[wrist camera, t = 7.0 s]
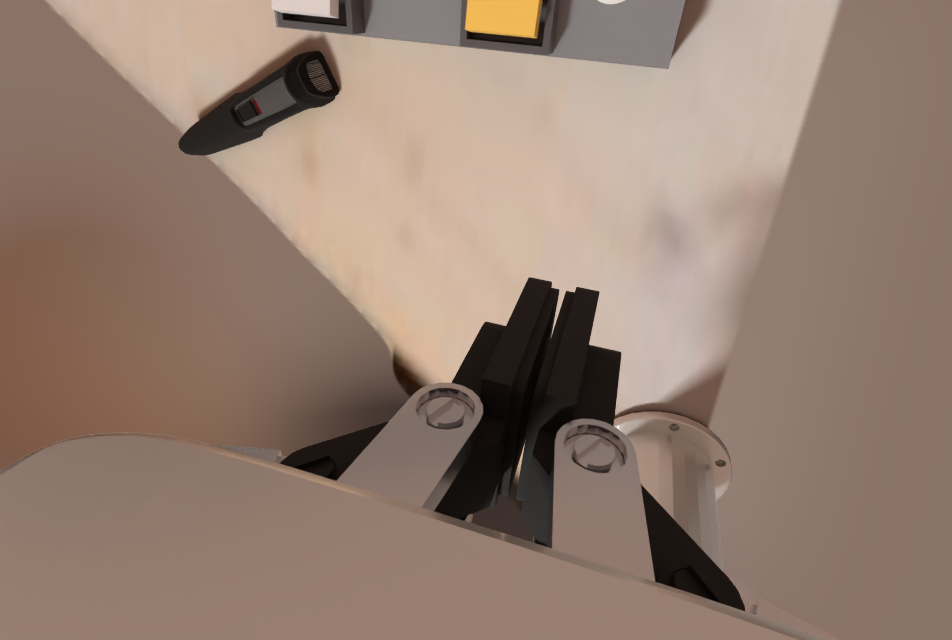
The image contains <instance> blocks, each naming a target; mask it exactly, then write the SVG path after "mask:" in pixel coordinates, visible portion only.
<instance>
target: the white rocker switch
mask: <svg viewBox="0 0 952 640" xmlns="http://www.w3.org/2000/svg"><path fill="white" fill-rule="evenodd" d="M272 9H273V10H275V11H278V12H281V13H290V14H300V15H310V16H320V17H330V18H338V15H339V0H272Z"/></svg>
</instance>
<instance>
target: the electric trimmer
mask: <svg viewBox="0 0 952 640" xmlns="http://www.w3.org/2000/svg"><path fill="white" fill-rule="evenodd" d="M338 93H339V87H338V85H337V83H336V81H335V79H334V77H333V75H332V73H331V71H330V69H329V67H328V64H327V62H326V60H325V58H324V56H323V54H322V53H320V52H318V51H315V52H312V53H311V52H307V53H303V54H300V55H298V56H296V57H294V58H293V59H292V60H291V61H289V62H288V63H287V64H286V65H284V66H283V67H281V68H280V69H278V70H277V71H275V72H274V73H272V74H271V75H269V76H268V77H266V78H265V79H263V80H262V81H260V82H259V83H257V84H256V85H254V86H252V87H251V88H249V89H248V90H246V91H244V92H242V93H236V94H235V95H233V96H232V97H230V98H229V99H227V100H226V101H224V102H223V103H222V104H220V105H219V106H218V107H216V108H215V109H214V110H212V111H211V112H210V113H208V114H207V115H206V116H204V117H203V118H202V119H200V120H199V121H198V122H196V123H195V124H194V125H193V126H192V127H190V128H189V130H188V131H187V132H186V133H185V134H184V135H183V136H182V138H181V139H180V140H179V148H180V149H181V151H183V152H184V153H186V154H190V155H209V154H213V153H216V152H219V151H222V150H225V149H228V148H231V147H234V146H236V145H239V144H242V143H245V142H248V141H251V140H254V139H256V138H259V137H261V136H262V134H263V131H264V130H265V129H267V128H268V127H270V126H272V125H274V124H276V123H278V122H280V121H282V120H284V119H286V118H288V117H290V116H293V115H295V114H297V113H300V112H302V111H304V110H306V109H309V108H316V107H322V106H325V105H326V104H328V103H330V102H331V101H333V100H334V99H335V96H336V95H337V94H338ZM246 125H247V126H246Z"/></svg>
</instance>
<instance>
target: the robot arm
mask: <svg viewBox="0 0 952 640" xmlns="http://www.w3.org/2000/svg"><path fill="white" fill-rule="evenodd" d="M551 287H552V282H550V281H545V280H540V279H535V278H530V277H529V279H528V280H527V283H526V285H525V287H524V289H523V291H522V293H521V295H520V298H519V300H518V302H517V304H516V306H515V308H514V310H513V313H512V315H511V317H510V319H509V321H508V323H507V325H506V326H503V325H499V324H494V323H490V322H485V323H484V324H483V326H482V327H481V329H480V331H479V333H478V335H477V337H476V339H475V340H474V342H473V344H472V346H471V348H470V350H469V352H468V353H467V355H466V357H465V359H464V361H463V363H462V365H461V366H460V368H459V370H458V372H457V374H456V376H455V377H454V379H453V381H452V383H436V384H431V385H428V386H426V387H423V388H421V389H420V390H418V391H417V392H416V393H415V394H413V395H412V397H411V398H410V399H409V400H408V401H407V402H406V403H405V405H404V406H403V407H402V408H401V409H400V410H399V411H398V412H397V414H396V415H395V416H394V417H393V418H392V419H391V420H390V421H388V422H385V423H382V424H379V425H376V426H372V427H369V428H366V429H363V430H360V431H356V432H353V433H350V434H347V435H343V436H340V437H337V438H334V439H331V440H327V441H324V442H321V443H318V444H315V445H311V446H308V447H305V448H302V449H300V450H298V451H296V452H293V453H292V454H291V455H289V456H288V457H285V456H282V455H281V451H280V450H272V449H261V448H250V447H238V446H227V445H215V444H207V443H203V442H198V441H194V440H190V439H184V438H179V437H173V436H167V435H159V434H144V433H130V432H129V433H102V434H93V435H85V436H79V437H74V438H69V439H65V440H62V441H59V442H55V443H52V444H49V445H47V446H45V447H43V448H41V449H38V450H36V451H34V452H32V453H30V454H28V455H26V456H25V457H23V458H21V459H19V460H17V461H16V462H14V463H12V464H10V465H9V466H7V467H5V468H4V469H2V470H0V640H839V639H837V638H835V637H834V636H832V635H830V634H828V633H826V632H824V631H822V630H820V629H818V628H816V627H814V626H812V625H810V624H808V623H806V622H804V621H802V620H800V619H798V618H797V617H795V616H792V615H791V614H789V613H787V612H785V611H783V610H781V609H779V608H777V607H775V606H773V605H771V604H769V603H767V602H765V601H763V600H761V599H760V598H758V600H757V601H756V602H755V604H754V603H752V602H750V601H749V600H747V599H745V598H743V597H741V596H740V594H739V592H738V590H737V589H736V587H735V586H734V585H733V583H732V582H731V581H730V580H729V578H728V577H727V576H726V574H725V573H724V568H723V559H722V550H721V542H720V532H719V524H718V513H717V504H716V500H717V499H719V498H720V497H721V496H722V495H723V494H724V492H725V491H726V490H727V488H728V486H729V484H730V481H731V475H732V467H731V461H730V456H729V454H728V451H727V449H726V447H725V445H724V444H723V443H722V441H721V440H720V439H719V438H718V437H717V436H716V435H715V434H714V433H713V432H712V431H711V430H709V429H708V428H706V427H705V426H703V425H702V424H700V423H698V422H696V421H694V420H692V419H689V418H687V417H684V416H680V415H677V414H673V413H666V412H659V411H644V412H637V413H631V414H627V415H624V416H621V417H618V418H616V419H614V417H615V408H616V398H617V389H618V380H619V371H620V362H621V352H618V351H614V350H609V349H605V348H601V347H596V346H592V345H589V341H590V336H591V331H592V326H593V321H594V316H595V312H596V307H597V302H598V297H599V291H594V290H589V289H584V288H580V287H576V291H575V293H574V292H569V291H566V293H565V296H564V300H563V303H562V306H561V309H560V312H559V315H558V318H557V321H556V325H555V328H554V331H553V334H552V329H553V323H554V318H555V312H556V307H557V301H558V296H559V289H554V288H551ZM551 334H552V337H551ZM525 440H526V441H525ZM524 443H525V447H524ZM523 447H524V453H523V459H522V464H521V470H520V476H519V482H518V488H517V494H516V499H518V500H522V501H523V506H522V511H521V516H522V518H523V520H524V521H525V523H526V524H527V526H528V527H529V529H530V530H531V532H532V533H533V535H534V540H533V542H529V541H526V540H523V539H520V538H517V537H514V536H510V535H507V534H504V533H501V532H498V531H494V530H491V529H488V528H485V527H482V526H478V525H476V524H472V523H471V521H472V518H473V513H475V512H477V511H480V510H482V509H484V508H487V507H490V508H494V509H495V505H496V502H497V499H498V496H499V494H502V495H505V496H508V495H509V493H510V489H511V486H512V483H513V479H514V476H515V473H516V470H517V466H518V463H519V460H520V456H521V453H522V450H523Z"/></svg>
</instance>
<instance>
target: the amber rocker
mask: <svg viewBox="0 0 952 640" xmlns="http://www.w3.org/2000/svg"><path fill="white" fill-rule="evenodd" d="M542 1H543V0H468V2H467V13H466V23H465V30H467V31H470V32H478V33H488V34H498V35H508V36H517V37H527V38H537V36H538V29H539V22H540V15H541V8H542Z"/></svg>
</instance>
